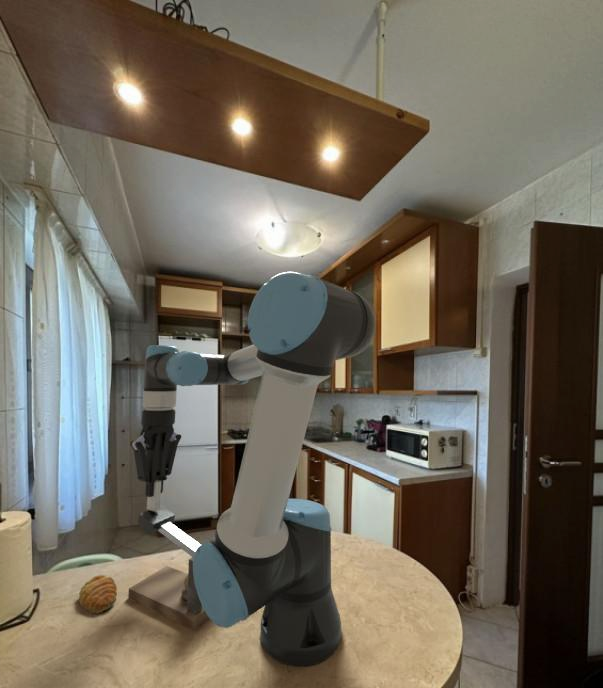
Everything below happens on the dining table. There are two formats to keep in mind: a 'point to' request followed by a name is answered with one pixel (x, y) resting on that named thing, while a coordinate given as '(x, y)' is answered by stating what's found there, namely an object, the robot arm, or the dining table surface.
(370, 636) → the dining table surface
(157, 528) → the lever
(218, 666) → the dining table surface
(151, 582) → the nutcracker base
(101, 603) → the pastry
